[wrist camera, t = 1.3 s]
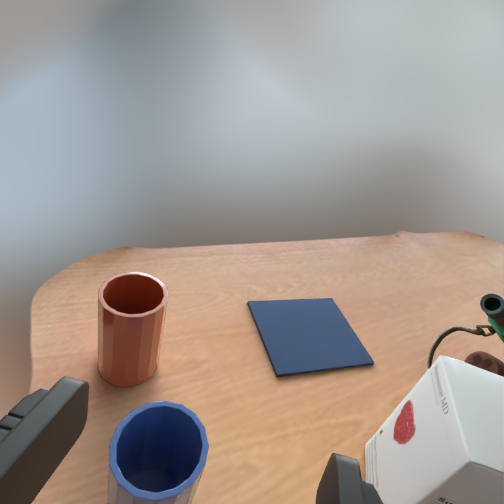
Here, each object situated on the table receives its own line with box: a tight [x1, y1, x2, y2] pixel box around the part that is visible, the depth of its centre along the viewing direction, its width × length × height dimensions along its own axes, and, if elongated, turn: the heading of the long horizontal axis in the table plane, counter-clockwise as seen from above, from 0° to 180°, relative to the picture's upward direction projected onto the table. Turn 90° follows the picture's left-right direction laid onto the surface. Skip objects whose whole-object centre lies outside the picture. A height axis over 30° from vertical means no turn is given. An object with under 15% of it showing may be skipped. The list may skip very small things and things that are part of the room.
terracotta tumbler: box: [98, 272, 168, 387], centre depth 35 cm, size 6×6×10 cm
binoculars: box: [428, 294, 504, 377], centre depth 42 cm, size 14×14×15 cm
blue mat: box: [247, 298, 374, 377], centre depth 48 cm, size 14×12×1 cm
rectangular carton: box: [365, 355, 504, 504], centre depth 29 cm, size 9×9×15 cm
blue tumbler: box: [107, 401, 209, 504], centre depth 25 cm, size 6×6×10 cm
